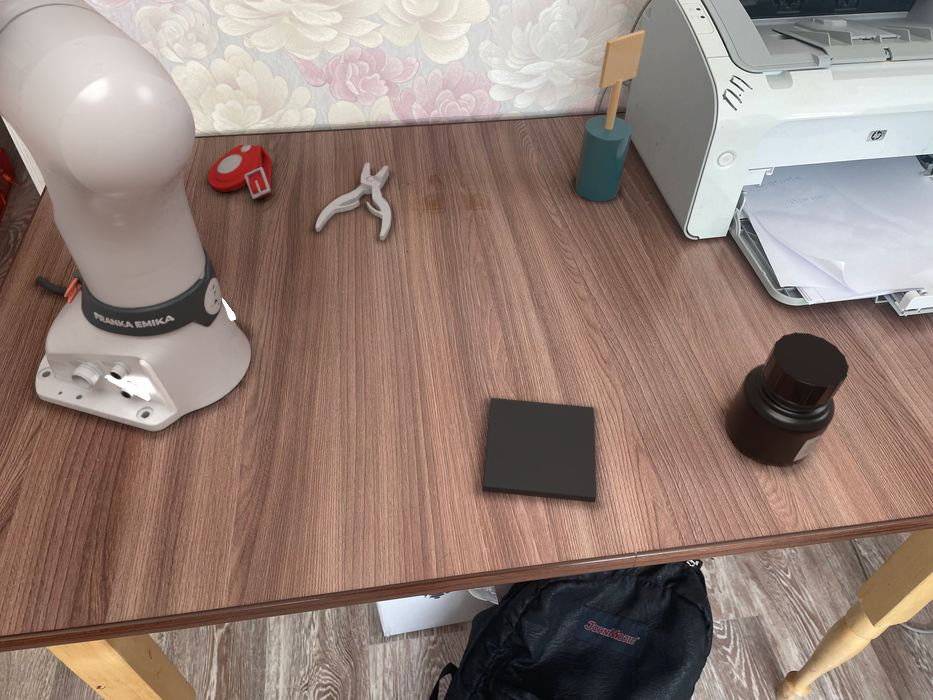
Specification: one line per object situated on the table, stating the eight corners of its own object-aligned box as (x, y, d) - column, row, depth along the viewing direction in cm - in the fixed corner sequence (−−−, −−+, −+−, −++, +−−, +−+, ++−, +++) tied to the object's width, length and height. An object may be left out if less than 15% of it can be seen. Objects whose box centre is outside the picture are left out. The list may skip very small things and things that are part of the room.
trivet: (482, 491, 70) (483, 486, 69) (491, 403, 77) (491, 397, 76) (594, 502, 69) (596, 497, 68) (592, 412, 76) (593, 407, 76)
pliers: (312, 221, 94) (344, 159, 104) (314, 231, 96) (345, 169, 106) (384, 231, 94) (410, 167, 103) (385, 240, 95) (410, 177, 105)
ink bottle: (817, 478, 72) (870, 406, 63) (728, 464, 72) (768, 391, 63) (803, 403, 78) (849, 328, 69) (721, 391, 79) (757, 315, 70)
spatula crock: (594, 206, 101) (625, 52, 84) (566, 184, 104) (589, 31, 88) (627, 192, 104) (663, 39, 87) (598, 171, 107) (627, 20, 90)
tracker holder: (191, 182, 100) (227, 133, 105) (209, 204, 104) (242, 156, 108) (256, 188, 95) (291, 136, 100) (273, 211, 99) (305, 160, 103)
